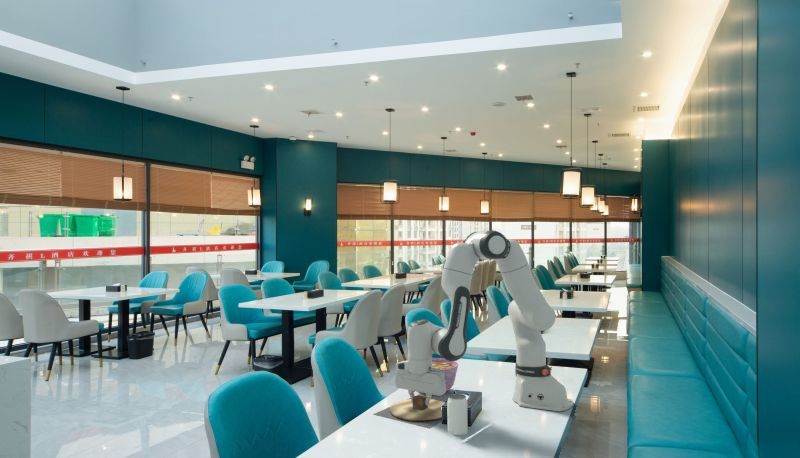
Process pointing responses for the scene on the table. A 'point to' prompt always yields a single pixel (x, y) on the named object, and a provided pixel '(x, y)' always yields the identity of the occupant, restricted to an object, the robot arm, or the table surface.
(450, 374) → the bowl of food
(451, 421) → the can
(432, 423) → the rubber mat
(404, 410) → the oak bowl cover
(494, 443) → the table surface
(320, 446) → the table surface
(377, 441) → the table surface
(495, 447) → the table surface
